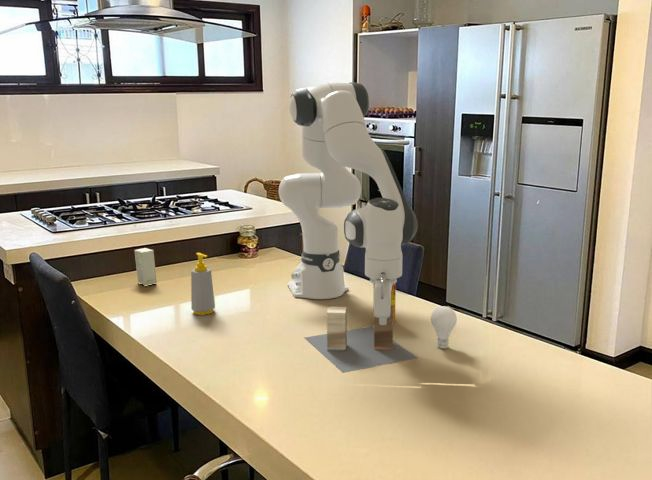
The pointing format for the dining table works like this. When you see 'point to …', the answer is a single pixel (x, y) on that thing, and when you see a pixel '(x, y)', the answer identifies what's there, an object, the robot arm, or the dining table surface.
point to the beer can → (393, 296)
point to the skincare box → (145, 266)
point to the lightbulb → (443, 324)
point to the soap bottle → (202, 288)
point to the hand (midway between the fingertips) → (383, 323)
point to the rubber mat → (360, 351)
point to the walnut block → (383, 333)
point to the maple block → (337, 329)
